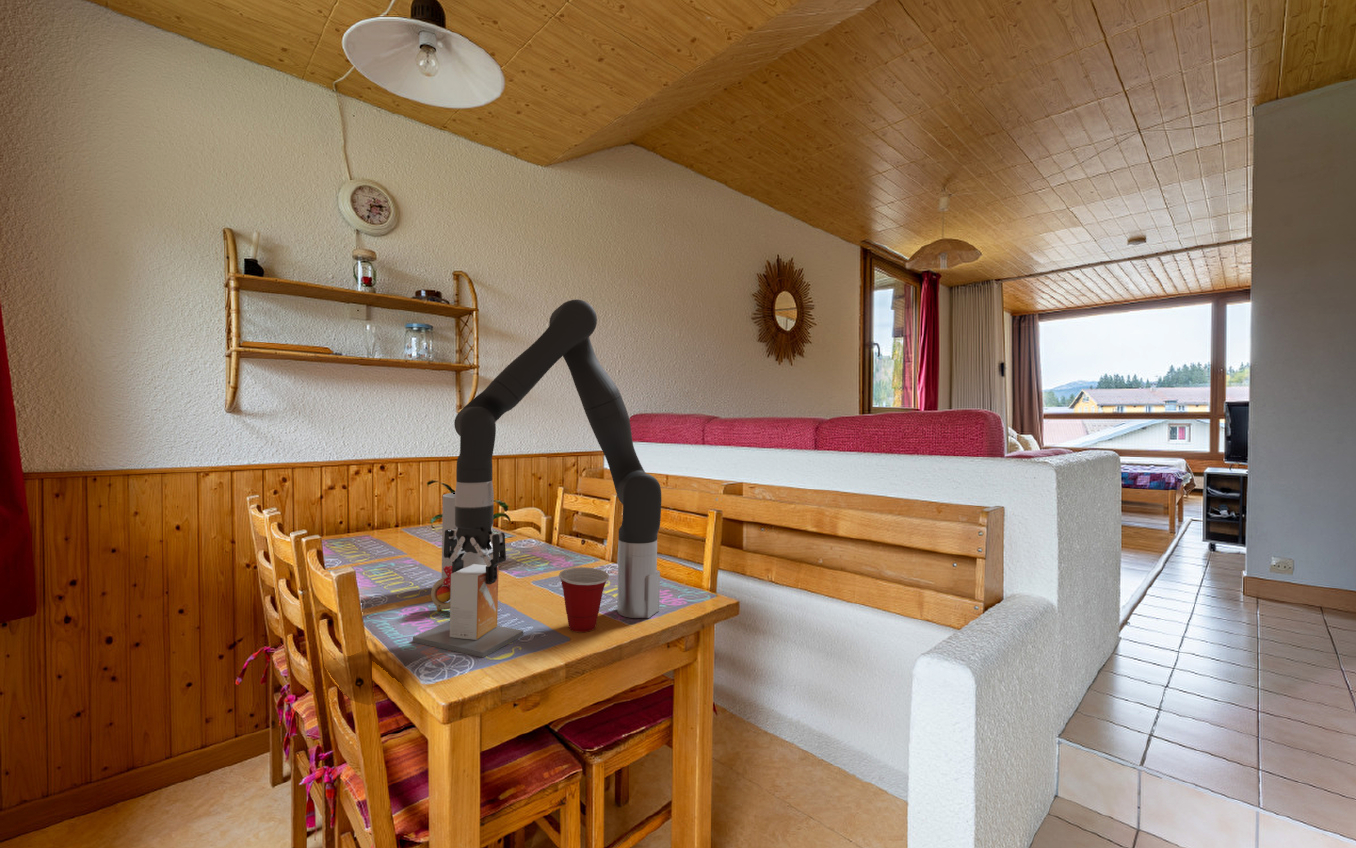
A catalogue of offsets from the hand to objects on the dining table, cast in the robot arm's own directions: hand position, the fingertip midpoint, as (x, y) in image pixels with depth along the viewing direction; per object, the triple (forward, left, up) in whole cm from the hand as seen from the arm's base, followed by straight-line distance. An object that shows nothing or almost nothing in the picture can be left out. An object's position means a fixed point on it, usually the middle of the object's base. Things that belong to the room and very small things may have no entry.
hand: (474, 581), depth 115 cm
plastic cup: (-18, -14, -12) cm, 26 cm away
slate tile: (0, +1, -12) cm, 12 cm away
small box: (0, 0, -11) cm, 11 cm away
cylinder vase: (+25, -25, -12) cm, 37 cm away
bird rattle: (+16, -10, -12) cm, 22 cm away
